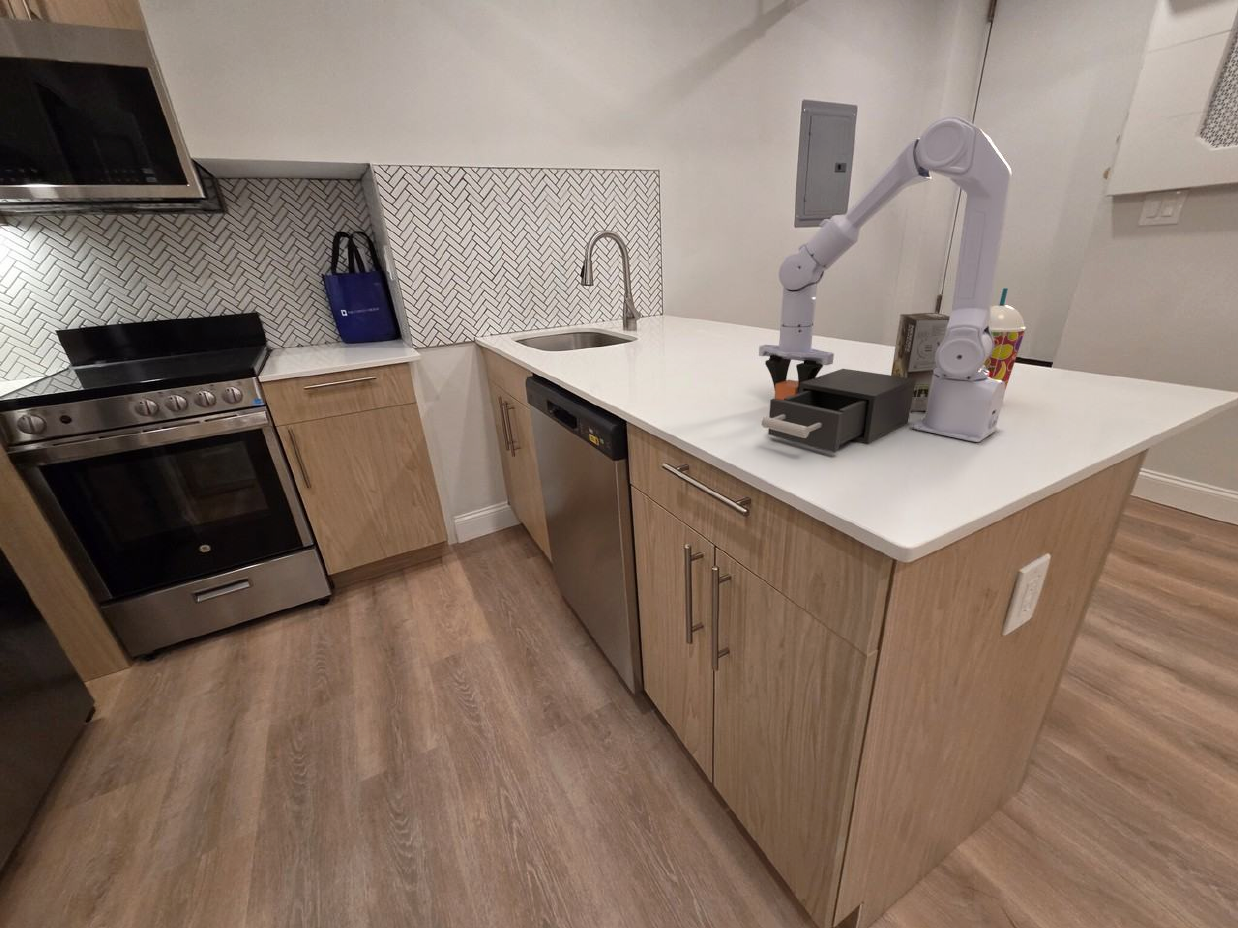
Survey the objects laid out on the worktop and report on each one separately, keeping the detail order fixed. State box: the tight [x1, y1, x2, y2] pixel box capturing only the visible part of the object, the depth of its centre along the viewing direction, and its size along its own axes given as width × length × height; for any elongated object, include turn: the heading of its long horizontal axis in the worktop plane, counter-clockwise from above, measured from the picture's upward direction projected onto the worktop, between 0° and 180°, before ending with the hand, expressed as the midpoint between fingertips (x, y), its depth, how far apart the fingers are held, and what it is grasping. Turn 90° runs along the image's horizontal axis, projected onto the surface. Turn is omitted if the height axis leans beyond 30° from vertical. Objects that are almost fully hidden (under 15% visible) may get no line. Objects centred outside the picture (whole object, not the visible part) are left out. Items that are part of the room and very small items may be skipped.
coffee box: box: [890, 312, 950, 412], centre depth 91 cm, size 9×6×16 cm
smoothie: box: [983, 287, 1027, 391], centre depth 89 cm, size 8×8×20 cm
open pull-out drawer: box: [761, 390, 869, 453], centre depth 78 cm, size 18×11×6 cm, turn 129°
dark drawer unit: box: [799, 368, 916, 445], centre depth 84 cm, size 14×13×8 cm
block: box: [774, 379, 798, 400], centre depth 97 cm, size 4×4×4 cm
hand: (790, 397), depth 97 cm, fingers closed on block, 4 cm apart
